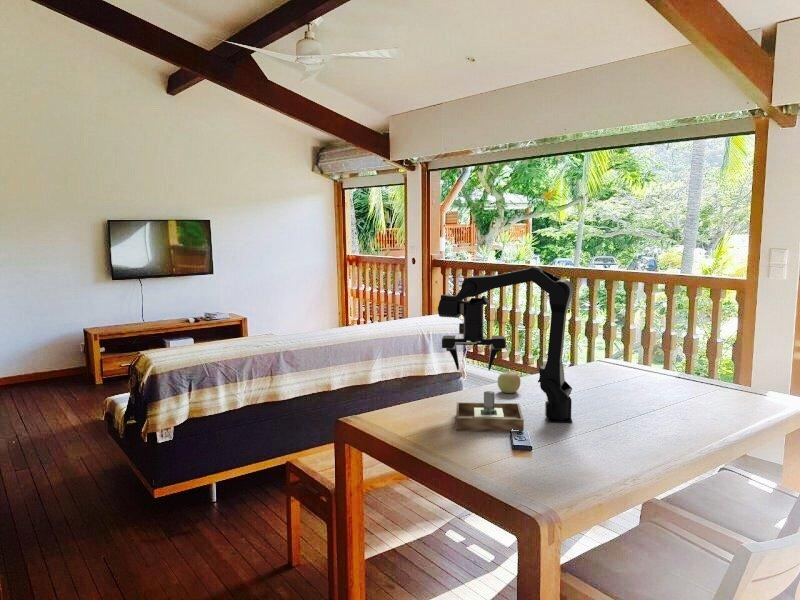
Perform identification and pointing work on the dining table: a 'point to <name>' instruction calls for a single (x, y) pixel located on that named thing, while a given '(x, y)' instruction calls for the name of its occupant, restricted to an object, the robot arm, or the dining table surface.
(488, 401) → the peg
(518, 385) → the fruit
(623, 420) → the dining table surface
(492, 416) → the bore plate
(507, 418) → the crate
